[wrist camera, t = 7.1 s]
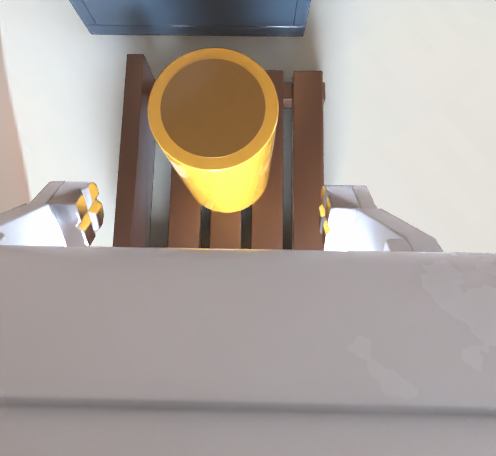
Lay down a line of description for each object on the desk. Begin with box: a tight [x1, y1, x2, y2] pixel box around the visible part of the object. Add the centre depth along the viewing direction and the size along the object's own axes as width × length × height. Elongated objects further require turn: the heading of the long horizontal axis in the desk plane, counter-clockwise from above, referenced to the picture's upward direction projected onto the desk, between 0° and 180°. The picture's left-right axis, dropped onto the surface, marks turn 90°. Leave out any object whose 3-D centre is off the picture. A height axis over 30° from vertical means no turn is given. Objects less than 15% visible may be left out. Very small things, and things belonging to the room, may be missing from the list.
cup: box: [148, 48, 279, 213], centre depth 18 cm, size 5×5×8 cm
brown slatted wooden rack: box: [113, 54, 325, 250], centre depth 22 cm, size 12×13×4 cm
